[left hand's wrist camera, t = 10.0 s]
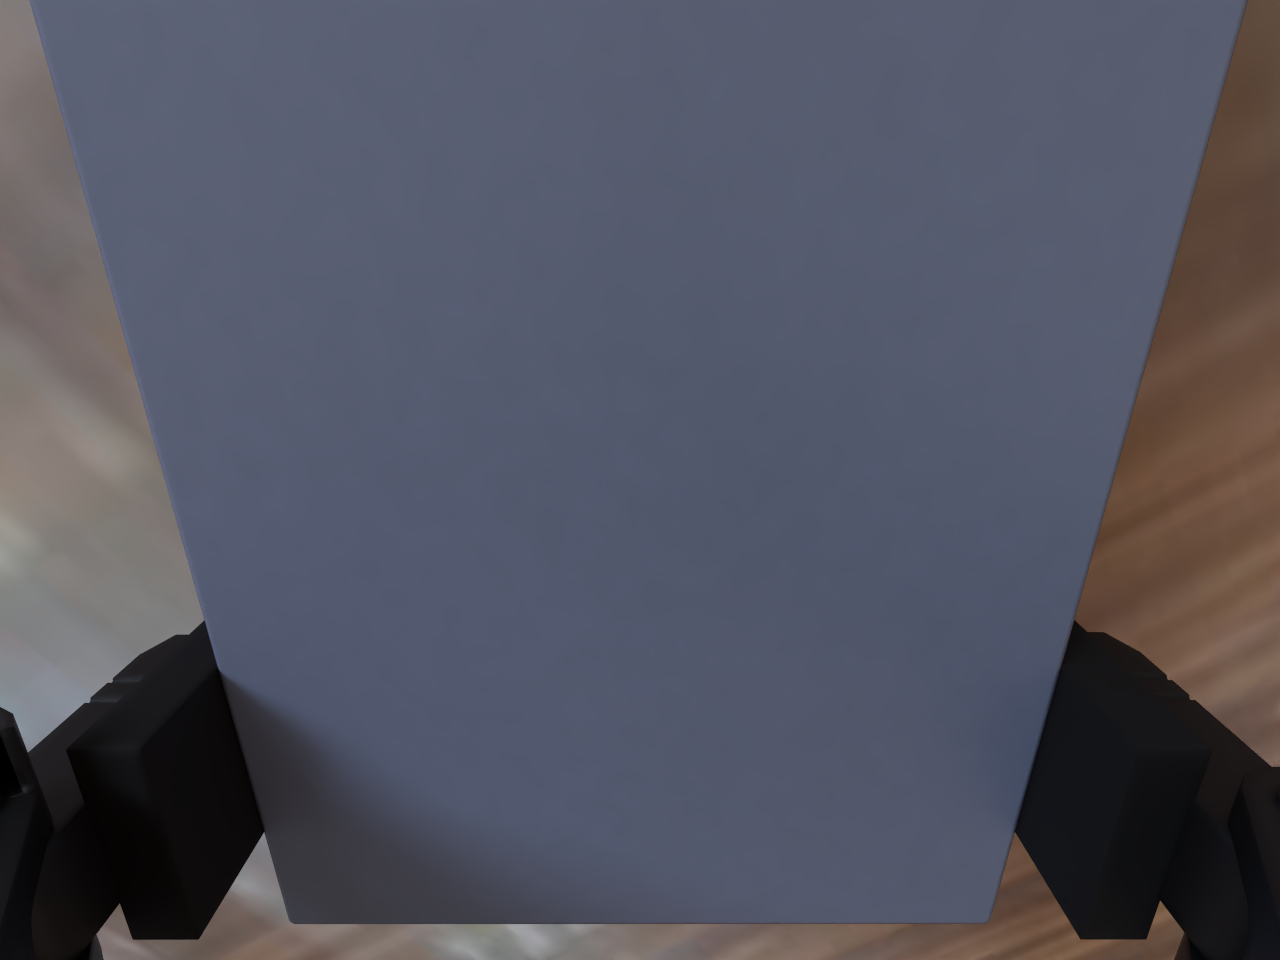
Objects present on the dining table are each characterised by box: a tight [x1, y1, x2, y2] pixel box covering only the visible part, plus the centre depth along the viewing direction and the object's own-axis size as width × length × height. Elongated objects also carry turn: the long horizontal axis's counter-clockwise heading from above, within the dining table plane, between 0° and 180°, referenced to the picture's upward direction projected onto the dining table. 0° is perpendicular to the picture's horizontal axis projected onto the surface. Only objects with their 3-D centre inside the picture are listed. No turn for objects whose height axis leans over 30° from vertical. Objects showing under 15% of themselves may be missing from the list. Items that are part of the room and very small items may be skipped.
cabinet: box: [30, 0, 1248, 924], centre depth 11 cm, size 21×10×10 cm, turn 0°
